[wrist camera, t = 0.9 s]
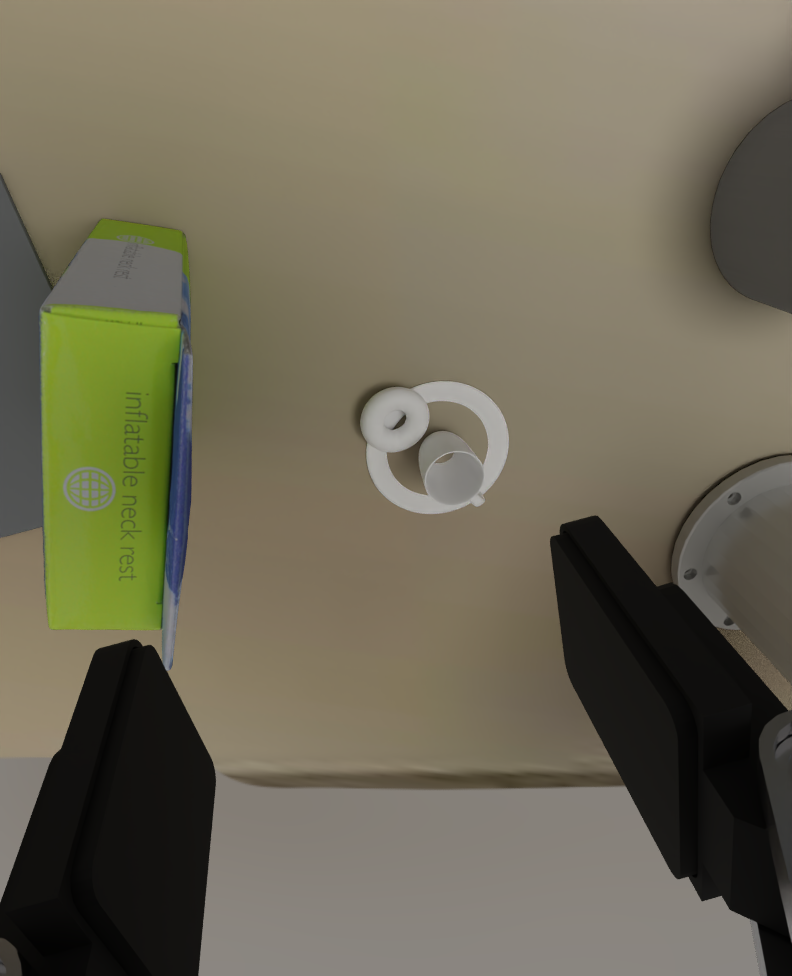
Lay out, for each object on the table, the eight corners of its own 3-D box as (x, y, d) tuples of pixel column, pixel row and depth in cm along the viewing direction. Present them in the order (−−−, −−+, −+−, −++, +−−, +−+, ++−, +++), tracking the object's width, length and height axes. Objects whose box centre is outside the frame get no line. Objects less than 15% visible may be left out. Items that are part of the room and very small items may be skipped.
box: (96, 214, 30) (6, 319, 15) (195, 230, 31) (202, 340, 16) (97, 438, 34) (28, 685, 20) (183, 444, 36) (180, 679, 21)
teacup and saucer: (336, 398, 36) (343, 429, 33) (478, 341, 36) (501, 364, 32) (394, 529, 40) (406, 568, 37) (522, 478, 40) (545, 512, 37)
